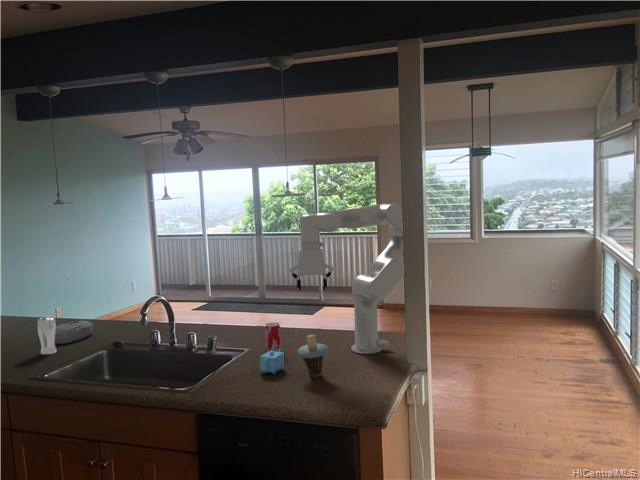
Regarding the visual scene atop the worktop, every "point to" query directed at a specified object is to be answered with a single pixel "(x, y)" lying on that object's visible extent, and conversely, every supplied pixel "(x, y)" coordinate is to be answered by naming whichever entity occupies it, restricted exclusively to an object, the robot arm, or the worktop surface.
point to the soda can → (272, 337)
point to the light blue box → (272, 361)
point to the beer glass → (47, 335)
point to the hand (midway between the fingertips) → (312, 289)
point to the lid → (312, 348)
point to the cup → (314, 366)
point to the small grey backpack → (73, 331)
